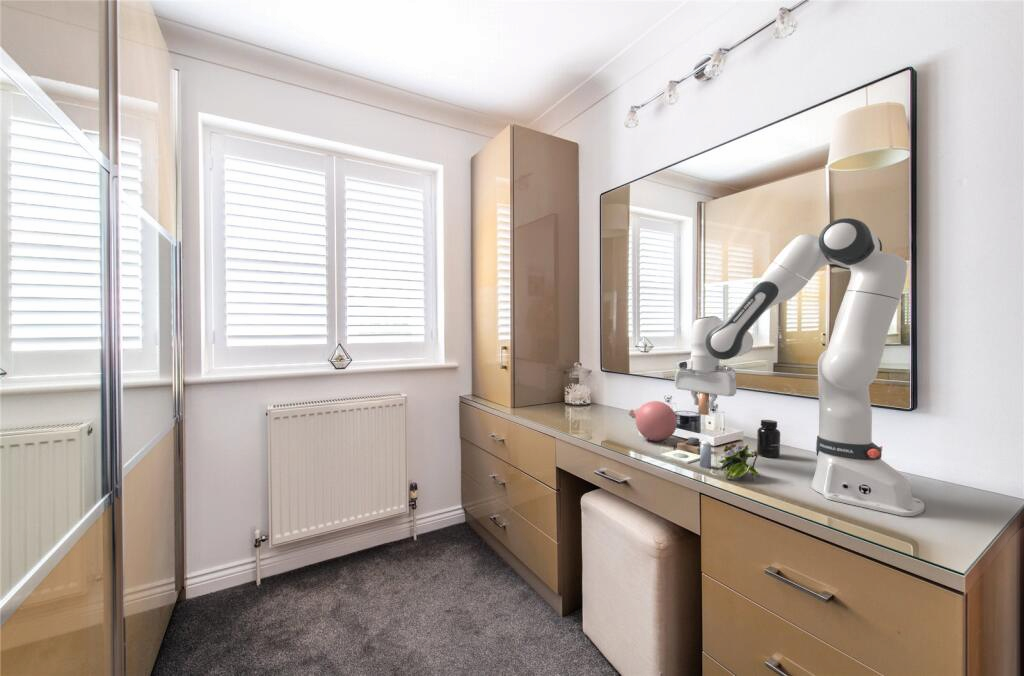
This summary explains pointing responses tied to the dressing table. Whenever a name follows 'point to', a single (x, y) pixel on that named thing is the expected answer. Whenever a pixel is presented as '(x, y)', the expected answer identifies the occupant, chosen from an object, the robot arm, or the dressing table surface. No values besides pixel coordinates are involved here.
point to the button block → (688, 447)
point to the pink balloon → (655, 420)
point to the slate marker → (705, 454)
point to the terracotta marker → (703, 403)
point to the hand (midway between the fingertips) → (703, 406)
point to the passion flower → (737, 461)
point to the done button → (693, 441)
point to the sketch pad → (681, 456)
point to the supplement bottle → (768, 439)
